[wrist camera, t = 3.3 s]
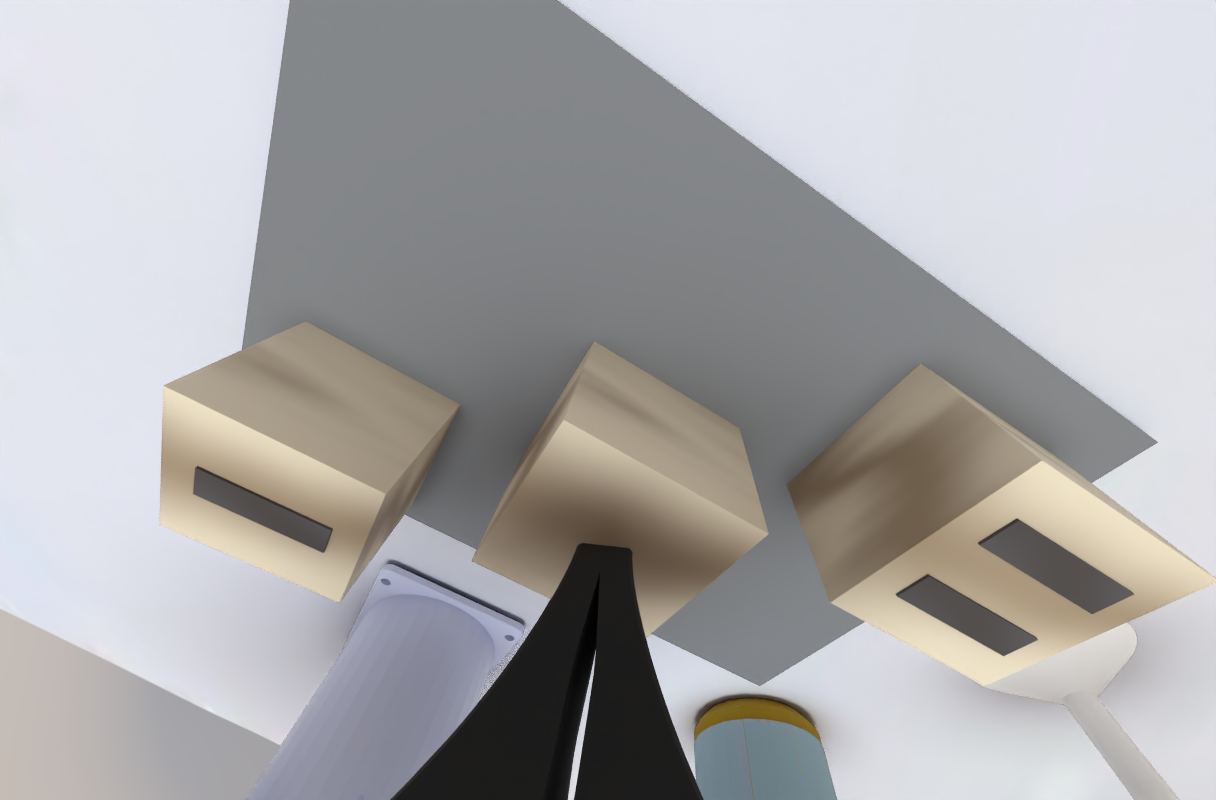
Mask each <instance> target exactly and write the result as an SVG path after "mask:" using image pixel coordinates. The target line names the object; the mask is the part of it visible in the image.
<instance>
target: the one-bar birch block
mask: <svg viewBox="0 0 1216 800" xmlns="http://www.w3.org/2000/svg"><path fill="white" fill-rule="evenodd" d="M459 406H460V404H458V403H457V402H455V401H453V400H451V399H449V398H447V397H445V396H444V395H442V394H440V393H438V392H436V391H434V390H432V389H431V388H429V387H427V386H425V385H423V384H421V383H419V382H418V381H416V380H414V379H412V378H410V377H408V376H407V375H405V374H403V373H401V372H399V371H397V370H395V369H394V368H392V367H390V366H388V365H386V364H384V363H382V362H381V361H379V360H377V359H375V358H373V357H371V356H369V355H368V354H366V353H364V352H362V351H360V350H358V349H356V348H355V347H353V346H351V345H349V344H347V343H345V342H343V341H342V340H340V339H338V338H336V337H334V336H332V335H331V334H329V333H327V332H325V331H323V330H321V329H319V328H318V327H316V326H314V325H312V324H310V323H308V322H306V321H305V322H303V323H301V324H299V325H296V326H294V327H292V328H290V329H288V330H285V331H283V332H281V333H279V334H277V335H274V336H272V337H270V338H268V339H266V340H263V341H261V342H259V343H257V344H254V345H252V346H250V347H248V348H246V349H243V350H241V351H239V352H237V353H235V354H232V355H230V356H228V357H226V358H224V359H221V360H219V361H217V362H215V363H212V364H210V365H208V366H206V367H204V368H201V369H199V370H197V371H195V372H193V373H190V374H188V375H186V376H184V377H182V378H179V379H177V380H175V381H173V382H170V383H168V384H166V385H164V386H163V418H162V453H161V488H160V523H159V525H161V526H163V527H166V528H168V529H170V530H173V531H175V532H177V533H180V534H182V535H184V536H186V537H189V538H191V539H193V540H196V541H198V542H200V543H202V544H205V545H207V546H209V547H212V548H214V549H216V550H219V551H221V552H223V553H225V554H228V555H230V556H232V557H235V558H237V559H239V560H241V561H244V562H246V563H248V564H251V565H253V566H255V567H258V568H260V569H262V570H264V571H267V572H269V573H271V574H274V575H276V576H278V577H280V578H283V579H285V580H287V581H290V582H292V583H294V584H297V585H299V586H301V587H303V588H306V589H308V590H310V591H313V592H315V593H317V594H319V595H322V596H324V597H326V598H329V599H331V600H333V601H336V602H338V603H340V602H341V600H342V599H343V598H344V596H345V595H346V594H347V592H348V591H349V589H350V588H351V587H352V585H353V584H354V583H355V581H356V580H357V579H358V577H359V576H360V574H361V573H362V572H363V570H364V569H365V568H366V566H367V565H368V564H369V562H370V561H371V559H372V558H373V557H374V555H375V554H376V553H377V551H378V550H379V549H380V547H381V546H382V544H383V543H384V542H385V540H386V539H387V538H388V536H389V535H390V534H391V532H392V531H393V529H394V528H395V527H396V525H397V524H398V523H399V521H400V520H401V519H402V517H403V516H404V514H405V513H406V512H407V510H408V509H409V508H410V506H411V505H412V503H413V502H414V500H415V498H416V496H417V494H418V492H419V490H420V488H421V485H422V483H423V481H424V479H425V477H426V475H427V473H428V471H429V469H430V467H431V465H432V463H433V461H434V458H435V456H436V454H437V452H438V450H439V448H440V446H441V444H442V442H443V440H444V438H445V436H446V433H447V431H448V429H449V427H450V425H451V423H452V421H453V419H454V417H455V415H456V413H457V411H458V409H459Z"/></svg>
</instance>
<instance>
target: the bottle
mask: <svg viewBox="0 0 1216 800" xmlns="http://www.w3.org/2000/svg"><path fill="white" fill-rule="evenodd" d="M694 740H695V743H694V752H695V772H696V783H697V785H698V787H699V790H700V792H701V795H702V797H703V799H704V800H837V797H836V793H835V790H834V786H833V782H832V778H831V775H830V771H829V767H828V763H827V760H826V756H825V752H824V749H823V747H822V744H821V740H820V736H819V734H818V732H817V730H816V728H815V727H814V726H813V725H812V724H811V723H810V722H809V721H808V720H807V719H806V718H805V717H803V716H802V715H801V714H800V713H799V712H797V711H796V710H795V709H793V708H792V707H789V706H787V705H784V704H782V703H780V702H776V701H770V700H766V699H752V698H741V699H736V700H728V701H725V702H723V703H720V704H717V705H714V706H713V707H712V708H710V709H709V710H708V711H706V712H705V714H704V715H703V717H702V718H701V719H700V721H699V722H698V724H697V726H696V728H695V730H694Z"/></svg>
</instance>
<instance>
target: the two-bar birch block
mask: <svg viewBox="0 0 1216 800" xmlns="http://www.w3.org/2000/svg"><path fill="white" fill-rule="evenodd" d="M786 485H787V488H788V491H789V493H790V496H791V499H792V501H793V504H794V507H795V509H796V512H797V515H798V517H799V520H800V523H801V526H802V528H803V531H804V534H805V536H806V539H807V542H808V544H809V547H810V550H811V552H812V555H813V558H814V560H815V563H816V566H817V569H818V571H819V574H820V577H821V579H822V582H823V585H824V587H825V590H826V593H827V595H828V598H829V601H830V603H832V604H834V605H835V606H837V607H839V608H841V609H843V610H845V611H846V612H848V613H850V614H852V615H854V616H856V617H858V618H859V619H861V620H863V621H865V622H867V623H869V624H871V625H872V626H874V627H876V628H878V629H880V630H882V631H883V632H885V633H887V634H889V635H891V636H893V637H895V638H896V639H898V640H900V641H902V642H904V643H906V644H908V645H909V646H911V647H913V648H915V649H917V650H919V651H921V652H922V653H924V654H926V655H928V656H930V657H932V658H933V659H935V660H937V661H939V662H941V663H943V664H945V665H946V666H948V667H950V668H952V669H954V670H956V671H958V672H959V673H961V674H963V675H965V676H967V677H969V678H971V679H972V680H974V681H976V682H978V683H980V684H982V685H983V686H986V685H988V684H991V683H993V682H995V681H997V680H1000V679H1002V678H1004V677H1006V676H1008V675H1011V674H1013V673H1015V672H1017V671H1020V670H1022V669H1024V668H1026V667H1029V666H1031V665H1033V664H1035V663H1037V662H1040V661H1042V660H1044V659H1046V658H1049V657H1051V656H1053V655H1055V654H1058V653H1060V652H1062V651H1064V650H1066V649H1069V648H1071V647H1073V646H1075V645H1078V644H1080V643H1082V642H1084V641H1087V640H1089V639H1091V638H1093V637H1095V636H1098V635H1100V634H1102V633H1104V632H1107V631H1109V630H1111V629H1113V628H1116V627H1118V626H1120V625H1122V624H1124V623H1127V622H1129V621H1131V620H1133V619H1136V618H1138V617H1140V616H1142V615H1145V614H1147V613H1149V612H1151V611H1153V610H1156V609H1158V608H1160V607H1162V606H1165V605H1167V604H1169V603H1171V602H1174V601H1176V600H1178V599H1180V598H1182V597H1185V596H1187V595H1189V594H1191V593H1194V592H1196V591H1198V590H1200V589H1203V588H1205V587H1207V586H1209V585H1211V584H1214V583H1216V578H1215V577H1214V576H1212V575H1211V574H1210V573H1208V572H1207V571H1206V570H1204V569H1203V568H1202V567H1201V566H1199V565H1198V564H1197V563H1195V562H1194V561H1193V560H1191V559H1190V558H1189V557H1187V556H1186V555H1185V554H1183V553H1182V552H1181V551H1180V550H1178V549H1177V548H1176V547H1174V546H1173V545H1172V544H1170V543H1169V542H1168V541H1166V540H1165V539H1164V538H1162V537H1161V536H1160V535H1159V534H1157V533H1156V532H1155V531H1153V530H1152V529H1151V528H1149V527H1148V526H1147V525H1145V524H1144V523H1143V522H1141V521H1140V520H1139V519H1138V518H1136V517H1135V516H1134V515H1132V514H1131V513H1130V512H1128V511H1127V510H1126V509H1124V508H1123V507H1122V506H1120V505H1119V504H1118V503H1117V502H1115V501H1114V500H1113V499H1111V498H1110V497H1109V496H1107V495H1106V494H1105V493H1103V492H1102V491H1101V490H1099V489H1098V488H1097V487H1096V486H1094V485H1093V484H1092V483H1090V482H1089V481H1088V480H1086V479H1085V478H1084V477H1082V476H1081V475H1080V474H1078V473H1077V472H1076V471H1075V470H1073V469H1072V468H1071V467H1069V466H1068V465H1067V464H1065V463H1064V462H1063V461H1061V460H1060V459H1059V458H1057V457H1056V456H1055V455H1054V454H1052V453H1051V452H1049V451H1048V450H1046V449H1045V448H1043V447H1042V446H1040V445H1039V444H1038V443H1036V442H1035V441H1033V440H1032V439H1030V438H1029V437H1027V436H1026V435H1024V434H1023V433H1022V432H1020V431H1019V430H1017V429H1016V428H1014V427H1013V426H1011V425H1010V424H1008V423H1007V422H1006V421H1004V420H1003V419H1001V418H1000V417H998V416H997V415H995V414H994V413H992V412H991V411H989V410H988V409H987V408H985V407H984V406H982V405H981V404H979V403H978V402H976V401H975V400H973V399H972V398H971V397H969V396H968V395H966V394H965V393H963V392H962V391H960V390H959V389H957V388H956V387H955V386H953V385H952V384H950V383H949V382H947V381H946V380H944V379H943V378H941V377H940V376H939V375H937V374H936V373H934V372H933V371H931V370H930V369H928V368H927V367H925V366H924V365H923V364H920V365H919V366H918V367H916V368H915V369H914V370H913V371H912V372H911V373H910V374H909V375H908V376H906V377H905V378H904V379H903V380H902V381H901V382H900V383H899V384H898V385H896V386H895V387H894V388H893V389H892V390H891V391H890V392H889V393H888V394H886V395H885V396H884V397H883V398H882V399H881V400H880V401H879V402H878V403H876V404H875V405H874V406H873V407H872V408H871V409H870V410H869V411H868V412H866V413H865V414H864V415H863V416H862V417H861V418H860V419H859V420H858V421H856V422H855V423H854V424H853V425H852V426H851V427H850V428H849V429H848V430H846V431H845V432H844V433H843V434H842V435H841V436H840V437H839V438H838V439H836V440H835V441H834V442H833V443H832V444H831V445H830V446H829V447H828V448H826V449H825V450H824V451H823V452H822V453H821V454H820V455H819V456H818V457H816V458H815V459H814V460H813V461H812V462H811V463H810V464H809V465H808V466H806V467H805V468H804V469H803V470H802V471H801V472H800V473H799V474H798V475H796V476H795V477H794V478H793V479H792V480H791V481H790V482H789V483H788V484H786Z"/></svg>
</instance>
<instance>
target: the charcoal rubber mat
mask: <svg viewBox="0 0 1216 800" xmlns="http://www.w3.org/2000/svg"><path fill="white" fill-rule="evenodd" d="M305 321H306V322H308V323H310V324H312V325H314V326H316V327H318V328H319V329H321V330H323V331H325V332H327V333H329V334H331V335H332V336H334V337H336V338H338V339H340V340H342V341H343V342H345V343H347V344H349V345H351V346H353V347H355V348H356V349H358V350H360V351H362V352H364V353H366V354H368V355H369V356H371V357H373V358H375V359H377V360H379V361H381V362H382V363H384V364H386V365H388V366H390V367H392V368H394V369H395V370H397V371H399V372H401V373H403V374H405V375H407V376H408V377H410V378H412V379H414V380H416V381H418V382H419V383H421V384H423V385H425V386H427V387H429V388H431V389H432V390H434V391H436V392H438V393H440V394H442V395H444V396H445V397H447V398H449V399H451V400H453V401H455V402H457V403H458V404H460V406H459V409H458V411H457V413H456V415H455V417H454V419H453V421H452V423H451V425H450V427H449V429H448V431H447V433H446V436H445V438H444V440H443V442H442V444H441V446H440V448H439V450H438V452H437V454H436V456H435V458H434V461H433V463H432V465H431V467H430V469H429V471H428V473H427V475H426V477H425V479H424V481H423V483H422V485H421V488H420V490H419V492H418V494H417V496H416V498H415V500H414V502H413V503H412V505H411V506H410V508H409V509H408V510H407V512H406V513H405V515H407V516H409V517H411V518H413V519H415V520H417V521H419V522H421V523H423V524H425V525H427V526H429V527H432V528H434V529H436V530H438V531H440V532H442V533H444V534H446V535H448V536H450V537H452V538H454V539H456V540H458V541H461V542H463V543H465V544H467V545H469V546H471V547H473V548H475V549H477V548H478V546H479V544H480V542H481V540H482V538H483V536H484V534H485V532H486V530H487V528H488V526H489V524H490V521H491V519H492V517H493V515H494V513H495V511H496V509H497V507H498V505H499V503H500V501H501V499H502V497H503V494H504V492H505V490H506V488H507V486H508V484H509V482H510V480H511V478H512V476H513V474H514V472H515V470H516V467H517V465H518V463H519V461H520V459H521V458H522V456H523V454H524V453H525V451H526V450H527V448H528V446H529V445H530V443H531V442H532V440H533V438H534V437H535V435H536V434H537V432H538V430H539V429H540V427H541V426H542V424H543V422H544V421H545V419H546V418H547V416H548V414H549V413H550V411H551V410H552V408H553V406H554V405H555V403H556V402H557V400H558V398H559V397H560V395H561V394H562V392H563V390H564V389H565V387H566V386H567V384H568V382H569V381H570V379H571V378H572V376H573V374H574V373H575V371H576V369H577V368H578V366H579V365H580V363H581V361H582V360H583V358H584V357H585V355H586V353H587V352H588V350H589V349H590V347H591V345H592V344H593V342H594V341H595V342H597V343H598V344H600V345H602V346H603V347H605V348H607V349H608V350H610V351H612V352H613V353H615V354H617V355H618V356H620V357H622V358H623V359H625V360H627V361H628V362H630V363H632V364H634V365H635V366H637V367H639V368H640V369H642V370H644V371H645V372H647V373H649V374H650V375H652V376H654V377H655V378H657V379H659V380H660V381H662V382H664V383H665V384H667V385H669V386H670V387H672V388H674V389H675V390H677V391H679V392H680V393H682V394H684V395H685V396H687V397H689V398H690V399H692V400H694V401H695V402H697V403H699V404H700V405H702V406H704V407H705V408H707V409H709V410H710V411H712V412H714V413H715V414H717V415H719V416H720V417H722V418H724V419H725V420H727V421H729V422H730V423H732V424H734V425H735V426H737V427H739V428H740V432H741V435H742V439H743V442H744V446H745V450H746V453H747V457H748V461H749V464H750V468H751V471H752V475H753V479H754V482H755V486H756V490H757V493H758V497H759V500H760V504H761V508H762V511H763V515H764V519H765V522H766V526H767V530H768V533H769V534H768V535H767V536H766V537H765V538H763V539H762V540H761V541H760V542H759V543H757V544H756V545H755V546H754V547H753V548H752V549H750V550H749V551H748V552H747V553H746V554H745V555H743V556H742V557H741V558H740V559H739V560H737V561H736V562H735V563H734V564H733V565H732V566H730V567H729V568H728V569H727V570H726V571H724V572H723V573H722V574H721V575H720V576H719V577H717V578H716V579H715V580H714V581H713V582H711V583H710V584H709V585H708V586H707V587H706V588H704V589H703V590H702V591H701V592H700V593H698V594H697V595H696V596H695V597H694V598H693V599H691V600H690V601H689V602H688V603H687V604H685V605H684V606H683V607H682V608H681V609H680V610H678V611H677V612H676V613H675V614H674V615H672V616H671V617H670V618H669V619H668V620H667V621H665V622H664V623H663V624H662V625H661V626H659V627H658V628H657V629H656V630H655V631H654V632H652V633H651V634H653V635H655V636H657V637H659V638H661V639H663V640H665V641H668V642H670V643H672V644H674V645H676V646H678V647H680V648H682V649H684V650H686V651H688V652H690V653H692V654H694V655H697V656H699V657H701V658H703V659H705V660H707V661H709V662H711V663H713V664H715V665H717V666H719V667H721V668H723V669H726V670H728V671H730V672H732V673H734V674H736V675H738V676H740V677H742V678H744V679H746V680H748V681H750V682H752V683H755V684H757V685H759V686H761V685H762V684H764V683H766V682H767V681H769V680H770V679H772V678H774V677H775V676H777V675H779V674H780V673H782V672H784V671H785V670H787V669H788V668H790V667H792V666H793V665H795V664H797V663H798V662H800V661H802V660H803V659H805V658H806V657H808V656H810V655H811V654H813V653H815V652H816V651H818V650H819V649H821V648H823V647H824V646H826V645H828V644H829V643H831V642H833V641H834V640H836V639H837V638H839V637H841V636H842V635H844V634H846V633H847V632H849V631H851V630H852V629H854V628H855V627H857V626H859V625H860V624H862V623H864V622H865V621H863V620H861V619H859V618H858V617H856V616H854V615H852V614H850V613H848V612H846V611H845V610H843V609H841V608H839V607H837V606H835V605H834V604H832V603H830V601H829V598H828V595H827V593H826V590H825V587H824V585H823V582H822V579H821V577H820V574H819V571H818V569H817V566H816V563H815V560H814V558H813V555H812V552H811V550H810V547H809V544H808V542H807V539H806V536H805V534H804V531H803V528H802V526H801V523H800V520H799V517H798V515H797V512H796V509H795V507H794V504H793V501H792V499H791V496H790V493H789V491H788V488H787V485H786V484H788V483H789V482H790V481H791V480H792V479H793V478H794V477H795V476H796V475H798V474H799V473H800V472H801V471H802V470H803V469H804V468H805V467H806V466H808V465H809V464H810V463H811V462H812V461H813V460H814V459H815V458H816V457H818V456H819V455H820V454H821V453H822V452H823V451H824V450H825V449H826V448H828V447H829V446H830V445H831V444H832V443H833V442H834V441H835V440H836V439H838V438H839V437H840V436H841V435H842V434H843V433H844V432H845V431H846V430H848V429H849V428H850V427H851V426H852V425H853V424H854V423H855V422H856V421H858V420H859V419H860V418H861V417H862V416H863V415H864V414H865V413H866V412H868V411H869V410H870V409H871V408H872V407H873V406H874V405H875V404H876V403H878V402H879V401H880V400H881V399H882V398H883V397H884V396H885V395H886V394H888V393H889V392H890V391H891V390H892V389H893V388H894V387H895V386H896V385H898V384H899V383H900V382H901V381H902V380H903V379H904V378H905V377H906V376H908V375H909V374H910V373H911V372H912V371H913V370H914V369H915V368H916V367H918V366H919V365H920V364H923V365H924V366H925V367H927V368H928V369H930V370H931V371H933V372H934V373H936V374H937V375H939V376H940V377H941V378H943V379H944V380H946V381H947V382H949V383H950V384H952V385H953V386H955V387H956V388H957V389H959V390H960V391H962V392H963V393H965V394H966V395H968V396H969V397H971V398H972V399H973V400H975V401H976V402H978V403H979V404H981V405H982V406H984V407H985V408H987V409H988V410H989V411H991V412H992V413H994V414H995V415H997V416H998V417H1000V418H1001V419H1003V420H1004V421H1006V422H1007V423H1008V424H1010V425H1011V426H1013V427H1014V428H1016V429H1017V430H1019V431H1020V432H1022V433H1023V434H1024V435H1026V436H1027V437H1029V438H1030V439H1032V440H1033V441H1035V442H1036V443H1038V444H1039V445H1040V446H1042V447H1043V448H1045V449H1046V450H1048V451H1049V452H1051V453H1052V454H1054V455H1055V456H1056V457H1057V458H1059V459H1060V460H1061V461H1063V462H1064V463H1065V464H1067V465H1068V466H1069V467H1071V468H1072V469H1073V470H1075V471H1076V472H1077V473H1078V474H1080V475H1081V476H1082V477H1084V478H1085V479H1086V480H1088V481H1089V482H1090V483H1092V482H1094V481H1096V480H1097V479H1099V478H1101V477H1102V476H1104V475H1105V474H1107V473H1109V472H1110V471H1112V470H1114V469H1115V468H1117V467H1118V466H1120V465H1122V464H1123V463H1125V462H1127V461H1128V460H1130V459H1132V458H1133V457H1135V456H1136V455H1138V454H1140V453H1141V452H1143V451H1145V450H1146V449H1148V448H1150V447H1151V446H1153V445H1154V444H1156V443H1158V442H1157V441H1156V440H1154V439H1153V438H1151V437H1150V436H1149V435H1147V434H1146V433H1145V432H1143V431H1142V430H1141V429H1139V428H1138V427H1137V426H1135V425H1134V424H1132V423H1131V422H1130V421H1128V420H1127V419H1126V418H1124V417H1123V416H1122V415H1120V414H1119V413H1117V412H1116V411H1115V410H1113V409H1112V408H1111V407H1109V406H1108V405H1107V404H1105V403H1104V402H1103V401H1101V400H1100V399H1098V398H1097V397H1096V396H1094V395H1093V394H1092V393H1090V392H1089V391H1088V390H1086V389H1085V388H1084V387H1082V386H1081V385H1079V384H1078V383H1077V382H1075V381H1074V380H1073V379H1071V378H1070V377H1069V376H1067V375H1066V374H1064V373H1063V372H1062V371H1060V370H1059V369H1058V368H1056V367H1055V366H1054V365H1052V364H1051V363H1050V362H1048V361H1047V360H1045V359H1044V358H1043V357H1041V356H1040V355H1039V354H1037V353H1036V352H1035V351H1033V350H1032V349H1030V348H1029V347H1028V346H1026V345H1025V344H1024V343H1022V342H1021V341H1020V340H1018V339H1017V338H1016V337H1014V336H1013V335H1011V334H1010V333H1009V332H1007V331H1006V330H1005V329H1003V328H1002V327H1001V326H999V325H998V324H996V323H995V322H994V321H992V320H991V319H990V318H988V317H987V316H986V315H984V314H983V313H982V312H980V311H979V310H977V309H976V308H975V307H973V306H972V305H971V304H969V303H968V302H967V301H965V300H964V299H962V298H961V297H960V296H958V295H957V294H956V293H954V292H953V291H952V290H950V289H949V288H948V287H946V286H945V285H943V284H942V283H941V282H939V281H938V280H937V279H935V278H934V277H933V276H931V275H930V274H928V273H927V272H926V271H924V270H923V269H922V268H920V267H919V266H918V265H916V264H915V263H914V262H912V261H911V260H909V259H908V258H907V257H905V256H904V255H903V254H901V253H900V252H899V251H897V250H896V249H894V248H893V247H892V246H890V245H889V244H888V243H886V242H885V241H884V240H882V239H881V238H880V237H878V236H877V235H875V234H874V233H873V232H871V231H870V230H869V229H867V228H866V227H865V226H863V225H862V224H861V223H859V222H858V221H856V220H855V219H854V218H852V217H851V216H850V215H848V214H847V213H846V212H844V211H843V210H841V209H840V208H839V207H837V206H836V205H835V204H833V203H832V202H831V201H829V200H828V199H827V198H825V197H824V196H822V195H821V194H820V193H818V192H817V191H816V190H814V189H813V188H812V187H810V186H809V185H807V184H806V183H805V182H803V181H802V180H801V179H799V178H798V177H797V176H795V175H794V174H793V173H791V172H790V171H788V170H787V169H786V168H784V167H783V166H782V165H780V164H779V163H778V162H776V161H775V160H773V159H772V158H771V157H769V156H768V155H767V154H765V153H764V152H763V151H761V150H760V149H759V148H757V147H756V146H754V145H753V144H752V143H750V142H749V141H748V140H746V139H745V138H744V137H742V136H741V135H739V134H738V133H737V132H735V131H734V130H733V129H731V128H730V127H729V126H727V125H726V124H725V123H723V122H722V121H720V120H719V119H718V118H716V117H715V116H714V115H712V114H711V113H710V112H708V111H707V110H705V109H704V108H703V107H701V106H700V105H699V104H697V103H696V102H695V101H693V100H692V99H691V98H689V97H688V96H686V95H685V94H684V93H682V92H681V91H680V90H678V89H677V88H676V87H674V86H673V85H671V84H670V83H669V82H667V81H666V80H665V79H663V78H662V77H661V76H659V75H658V74H657V73H655V72H654V71H652V70H651V69H650V68H648V67H647V66H646V65H644V64H643V63H642V62H640V61H639V60H638V59H636V58H635V57H633V56H632V55H631V54H629V53H628V52H627V51H625V50H624V49H623V48H621V47H620V46H618V45H617V44H616V43H614V42H613V41H612V40H610V39H609V38H608V37H606V36H605V35H604V34H602V33H601V32H599V31H598V30H597V29H595V28H594V27H593V26H591V25H590V24H589V23H587V22H586V21H584V20H583V19H582V18H580V17H579V16H578V15H576V14H575V13H574V12H572V11H571V10H570V9H568V8H567V7H565V6H564V5H563V4H561V3H560V2H559V1H557V0H290V3H289V10H288V18H287V25H286V32H285V39H284V47H283V54H282V61H281V69H280V76H279V83H278V90H277V98H276V105H275V112H274V120H273V127H272V134H271V141H270V149H269V156H268V163H267V171H266V178H265V185H264V192H263V200H262V207H261V214H260V221H259V229H258V236H257V243H256V251H255V258H254V265H253V272H252V280H251V287H250V294H249V302H248V309H247V316H246V323H245V331H244V338H243V345H242V350H243V349H246V348H248V347H250V346H252V345H254V344H257V343H259V342H261V341H263V340H266V339H268V338H270V337H272V336H274V335H277V334H279V333H281V332H283V331H285V330H288V329H290V328H292V327H294V326H296V325H299V324H301V323H303V322H305Z"/></svg>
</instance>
